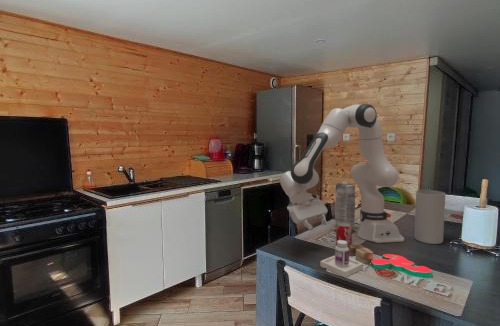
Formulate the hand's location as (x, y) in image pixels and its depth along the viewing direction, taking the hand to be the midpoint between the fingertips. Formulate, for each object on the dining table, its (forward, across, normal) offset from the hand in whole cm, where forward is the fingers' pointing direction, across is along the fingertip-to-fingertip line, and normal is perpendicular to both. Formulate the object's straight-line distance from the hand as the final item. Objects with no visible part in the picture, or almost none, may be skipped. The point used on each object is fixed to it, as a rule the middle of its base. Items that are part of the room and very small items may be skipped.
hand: (318, 226), depth 126 cm
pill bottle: (+18, -2, 0) cm, 18 cm away
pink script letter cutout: (+31, +16, -10) cm, 36 cm away
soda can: (+11, +16, +9) cm, 21 cm away
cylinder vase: (+26, +59, -4) cm, 65 cm away
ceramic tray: (+19, -2, 0) cm, 19 cm away
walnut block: (+17, +14, +3) cm, 22 cm away
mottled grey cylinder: (-2, +44, +23) cm, 50 cm away
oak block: (+21, +10, -1) cm, 24 cm away
